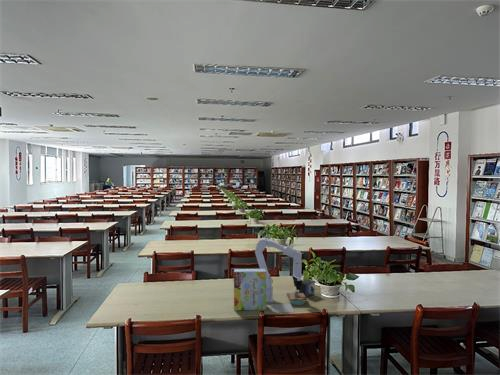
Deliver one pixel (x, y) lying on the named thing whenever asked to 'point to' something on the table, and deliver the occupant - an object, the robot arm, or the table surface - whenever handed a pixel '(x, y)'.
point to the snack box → (249, 289)
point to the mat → (281, 308)
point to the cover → (296, 296)
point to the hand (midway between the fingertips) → (297, 288)
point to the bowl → (297, 302)
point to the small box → (307, 288)
